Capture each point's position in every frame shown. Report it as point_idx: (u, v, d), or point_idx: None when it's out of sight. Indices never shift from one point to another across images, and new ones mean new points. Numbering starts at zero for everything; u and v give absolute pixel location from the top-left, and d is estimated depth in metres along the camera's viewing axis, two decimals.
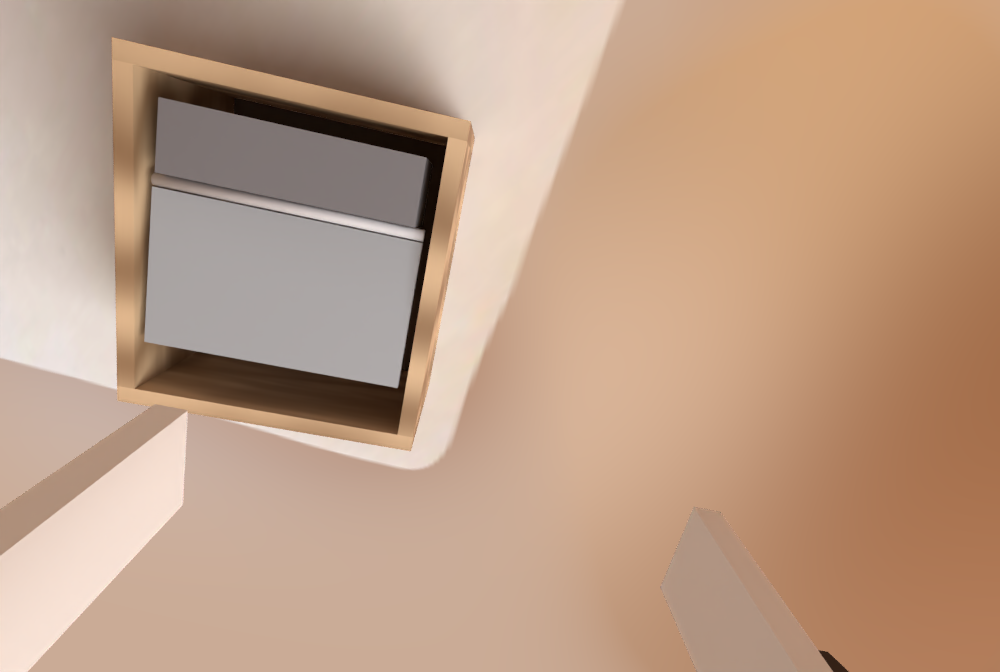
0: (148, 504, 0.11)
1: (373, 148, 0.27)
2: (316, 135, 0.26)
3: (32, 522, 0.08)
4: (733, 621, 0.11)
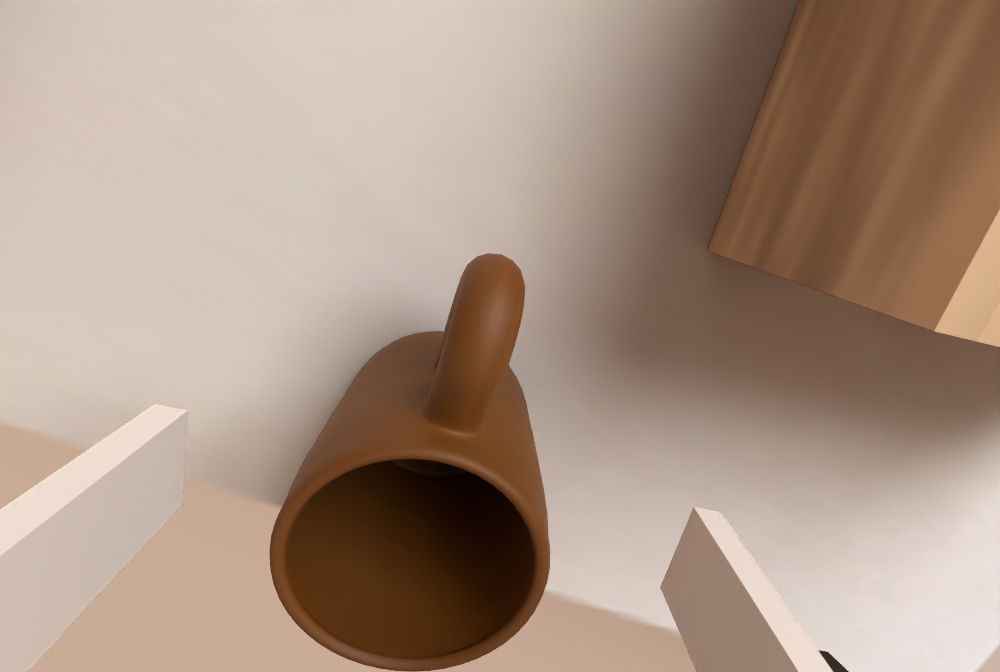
0: (148, 504, 0.11)
1: None
2: None
3: (32, 522, 0.08)
4: (733, 620, 0.11)
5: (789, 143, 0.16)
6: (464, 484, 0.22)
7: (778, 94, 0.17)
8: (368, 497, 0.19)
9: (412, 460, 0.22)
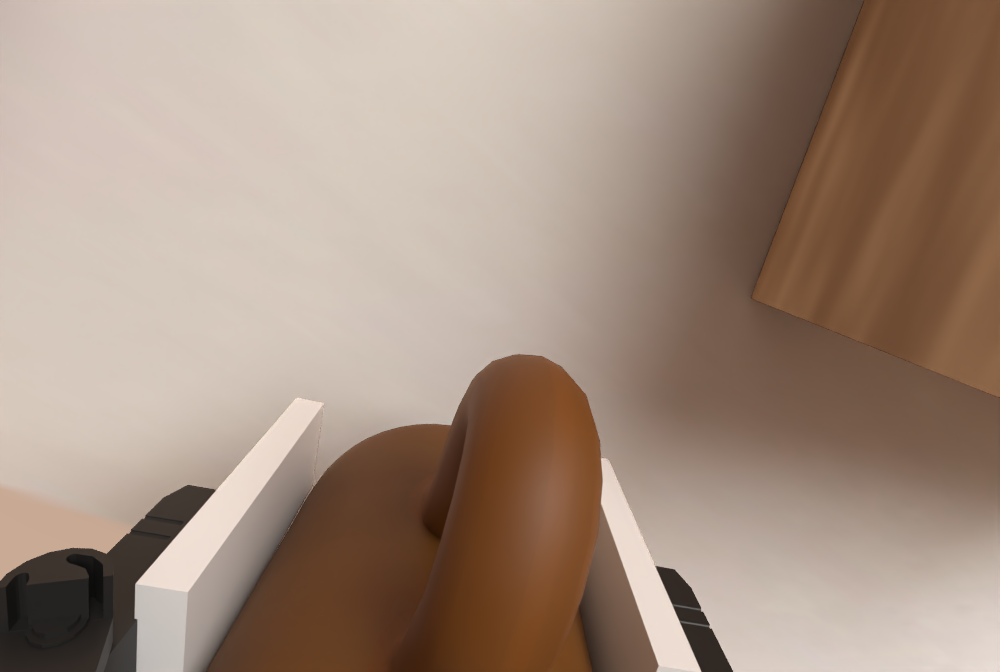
0: (299, 483, 0.13)
1: None
2: None
3: (252, 491, 0.10)
4: None
5: (851, 184, 0.14)
6: None
7: (833, 129, 0.15)
8: None
9: None
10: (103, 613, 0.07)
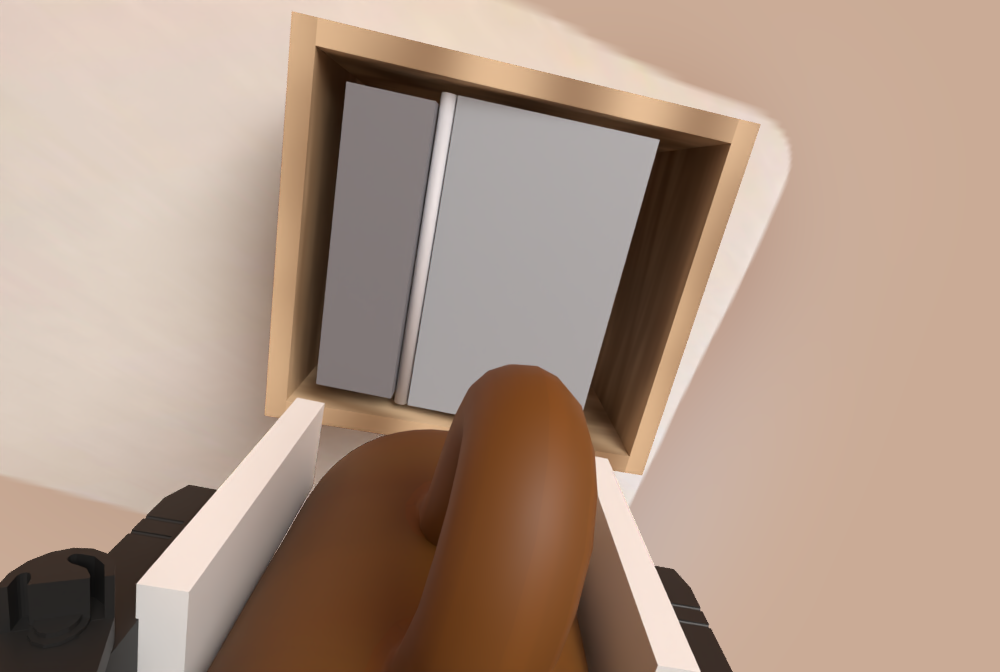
0: (299, 483, 0.13)
1: (342, 153, 0.21)
2: (335, 222, 0.22)
3: (253, 491, 0.10)
4: (595, 544, 0.12)
5: None
6: None
7: None
8: None
9: None
10: (104, 613, 0.07)
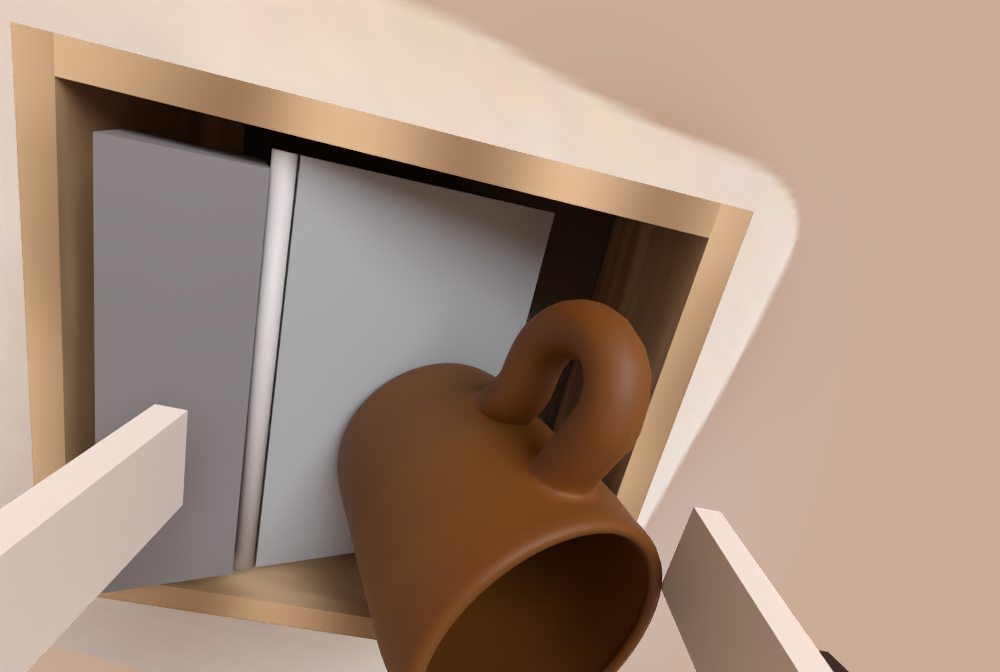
0: (148, 504, 0.11)
1: (101, 251, 0.12)
2: (101, 360, 0.13)
3: (32, 522, 0.08)
4: (733, 620, 0.11)
5: None
6: None
7: None
8: None
9: None
10: None
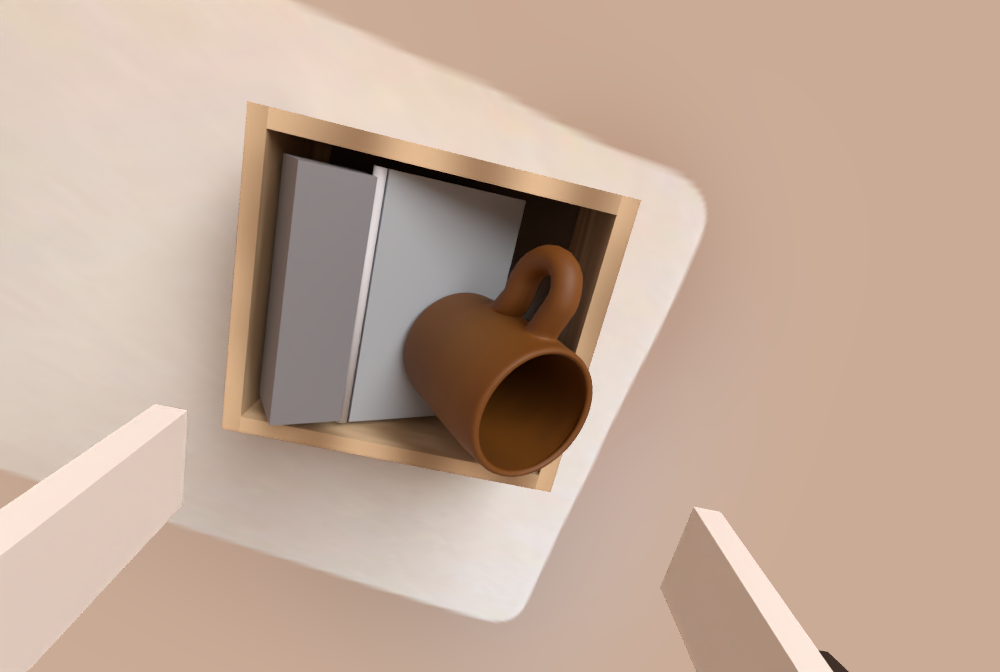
0: (148, 504, 0.11)
1: (295, 221, 0.24)
2: (288, 282, 0.24)
3: (32, 522, 0.08)
4: (733, 620, 0.11)
5: None
6: None
7: None
8: None
9: None
10: None
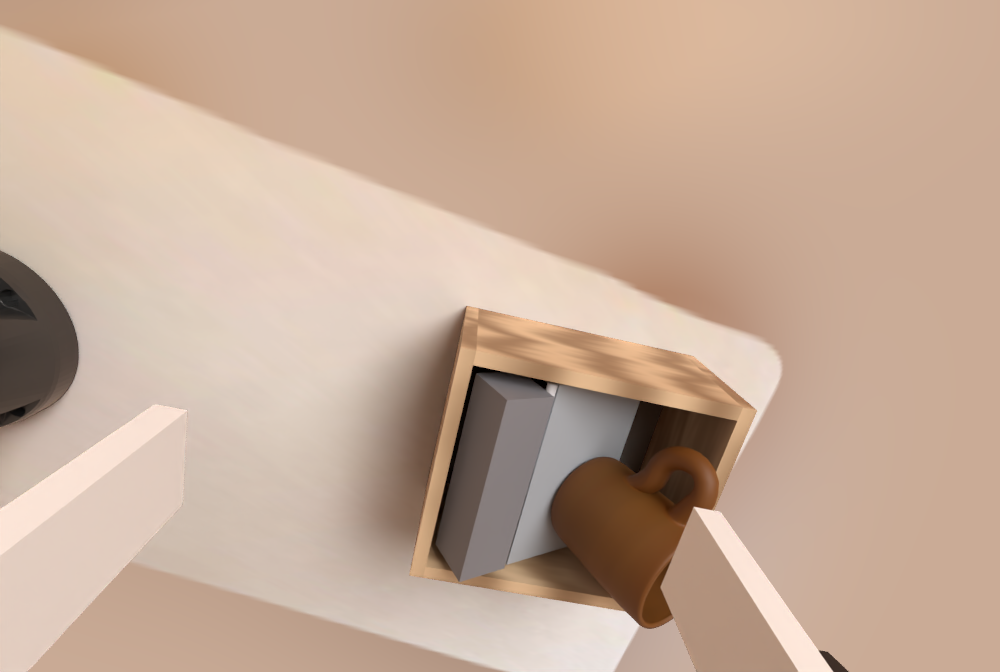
0: (148, 504, 0.11)
1: (498, 440, 0.31)
2: (487, 482, 0.31)
3: (32, 522, 0.08)
4: (733, 621, 0.11)
5: None
6: None
7: None
8: None
9: None
10: None
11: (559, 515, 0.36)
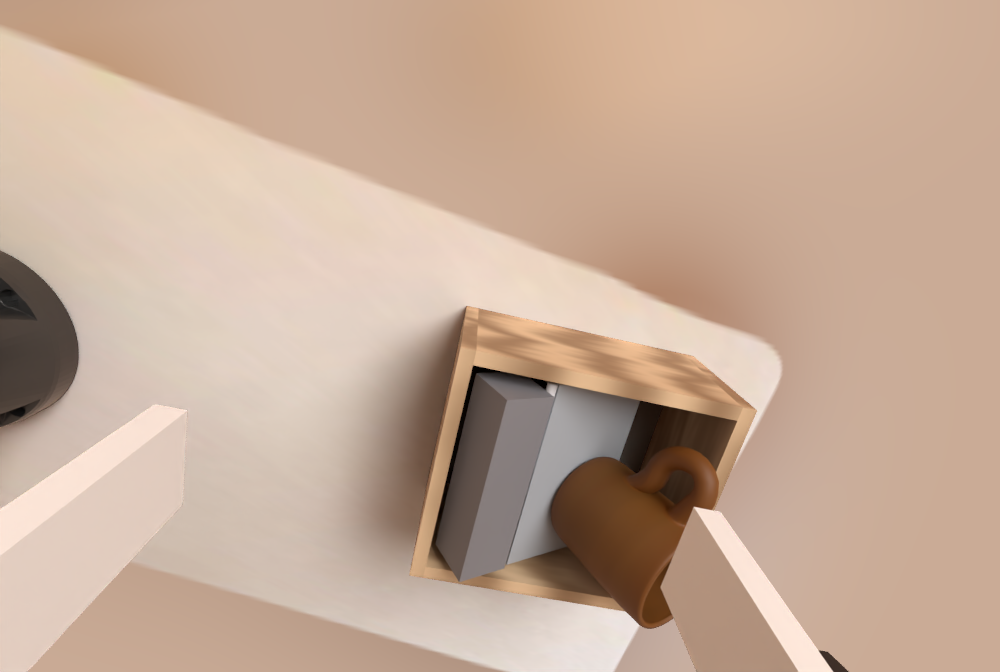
0: (148, 504, 0.11)
1: (498, 440, 0.31)
2: (487, 482, 0.31)
3: (32, 522, 0.08)
4: (733, 621, 0.11)
5: None
6: None
7: None
8: None
9: None
10: None
11: (559, 515, 0.36)
